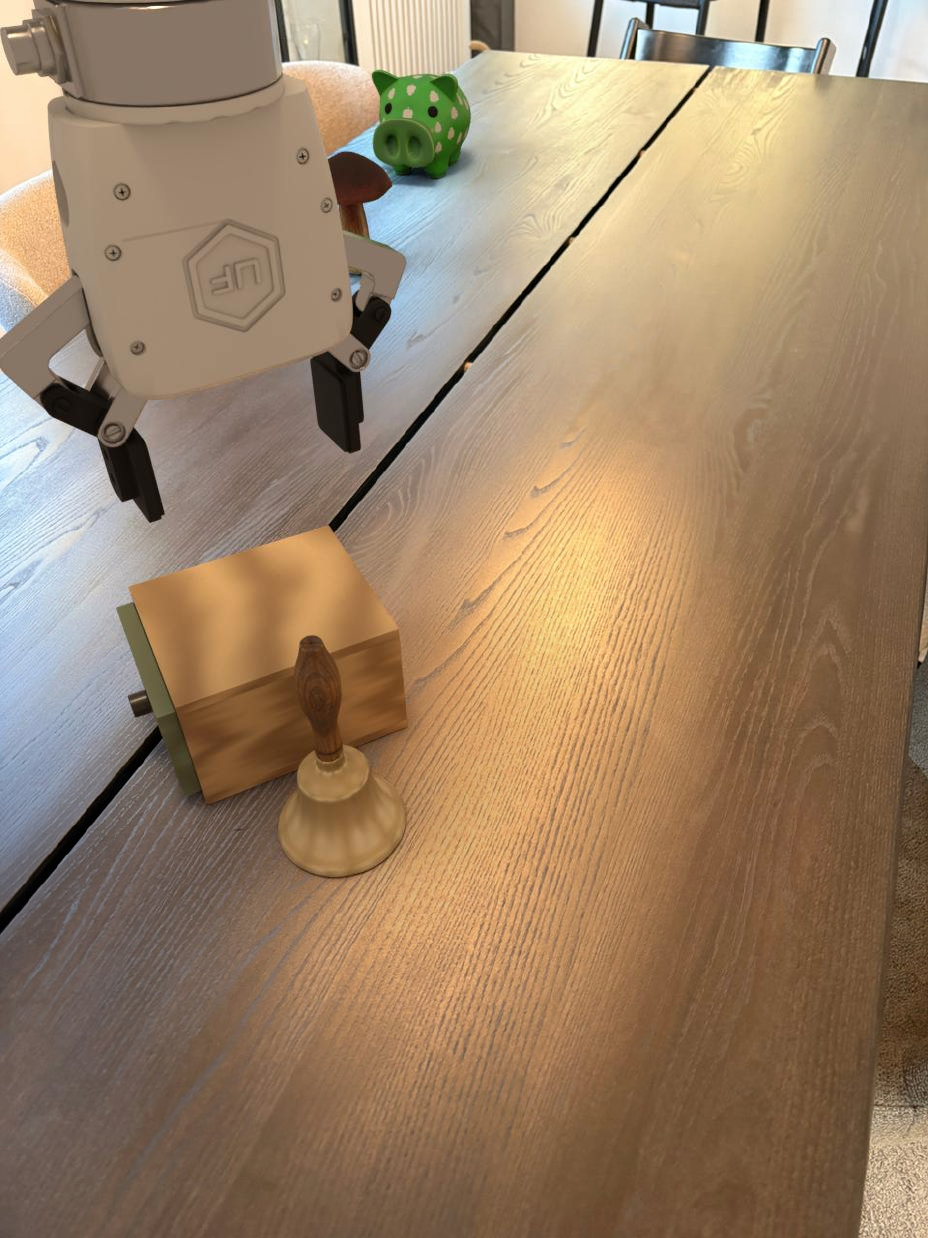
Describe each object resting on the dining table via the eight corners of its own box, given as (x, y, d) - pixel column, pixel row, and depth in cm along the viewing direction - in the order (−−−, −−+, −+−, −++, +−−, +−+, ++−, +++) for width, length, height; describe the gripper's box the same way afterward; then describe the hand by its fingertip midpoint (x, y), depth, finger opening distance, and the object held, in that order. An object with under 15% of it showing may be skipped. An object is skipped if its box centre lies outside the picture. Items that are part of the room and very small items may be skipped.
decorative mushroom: (366, 296, 121) (354, 171, 111) (298, 278, 126) (281, 157, 115) (414, 265, 128) (407, 145, 118) (348, 250, 132) (336, 133, 122)
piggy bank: (363, 183, 152) (354, 78, 142) (404, 149, 165) (398, 50, 155) (447, 191, 149) (444, 84, 139) (483, 156, 161) (482, 55, 151)
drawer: (166, 804, 62) (136, 725, 57) (127, 691, 70) (97, 612, 64) (373, 724, 67) (363, 644, 62) (316, 626, 74) (303, 548, 69)
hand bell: (254, 816, 62) (205, 640, 52) (358, 752, 66) (332, 575, 55) (325, 903, 58) (287, 728, 47) (432, 828, 61) (420, 651, 51)
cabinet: (207, 805, 63) (175, 707, 57) (160, 683, 71) (127, 586, 65) (407, 726, 68) (399, 628, 61) (342, 621, 76) (328, 524, 70)
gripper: (-79, 114, 27) (86, 582, 38) (441, 35, 34) (448, 451, 45) (-126, 61, 31) (34, 493, 43) (340, 2, 38) (370, 386, 50)
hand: (247, 471), depth 44 cm, fingers open, 9 cm apart
